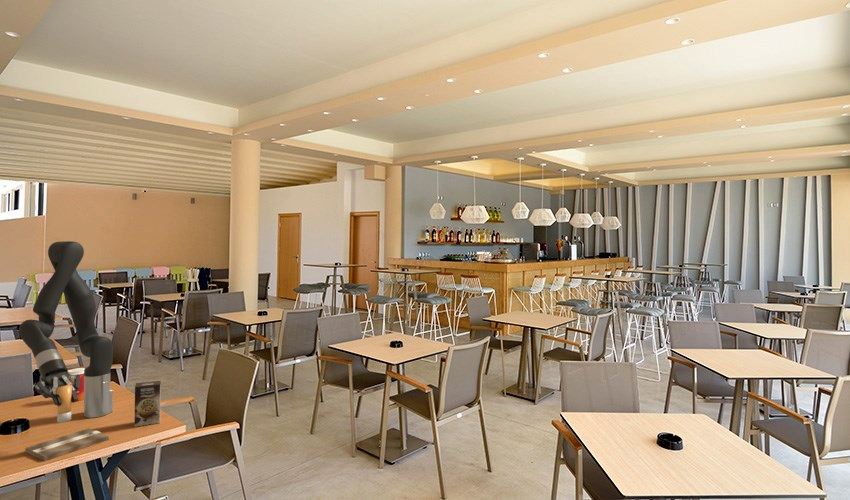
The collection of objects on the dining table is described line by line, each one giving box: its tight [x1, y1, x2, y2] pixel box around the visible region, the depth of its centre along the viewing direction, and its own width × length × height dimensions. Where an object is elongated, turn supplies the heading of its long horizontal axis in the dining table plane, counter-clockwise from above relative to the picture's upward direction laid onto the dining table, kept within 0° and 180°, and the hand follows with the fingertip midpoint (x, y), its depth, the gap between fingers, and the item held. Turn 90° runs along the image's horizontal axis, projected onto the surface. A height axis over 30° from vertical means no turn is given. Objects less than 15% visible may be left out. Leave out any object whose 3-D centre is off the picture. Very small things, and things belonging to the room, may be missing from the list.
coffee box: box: [133, 380, 162, 428], centre depth 192 cm, size 9×6×16 cm
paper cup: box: [67, 367, 85, 403], centre depth 220 cm, size 8×8×14 cm
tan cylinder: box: [56, 385, 72, 423], centre depth 169 cm, size 4×4×12 cm
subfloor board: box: [24, 427, 109, 462], centre depth 170 cm, size 20×14×2 cm
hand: (67, 402), depth 168 cm, fingers closed on tan cylinder, 4 cm apart
